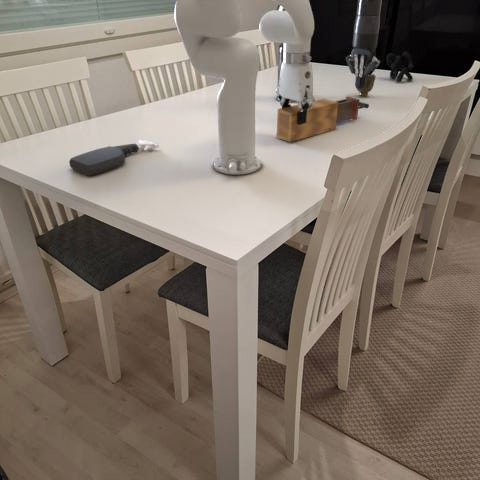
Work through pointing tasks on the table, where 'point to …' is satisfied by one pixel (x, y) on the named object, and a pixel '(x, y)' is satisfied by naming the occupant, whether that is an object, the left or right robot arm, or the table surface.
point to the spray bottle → (106, 157)
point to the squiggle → (399, 66)
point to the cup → (367, 85)
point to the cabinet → (307, 120)
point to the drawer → (349, 109)
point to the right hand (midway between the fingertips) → (359, 88)
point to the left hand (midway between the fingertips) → (293, 120)
